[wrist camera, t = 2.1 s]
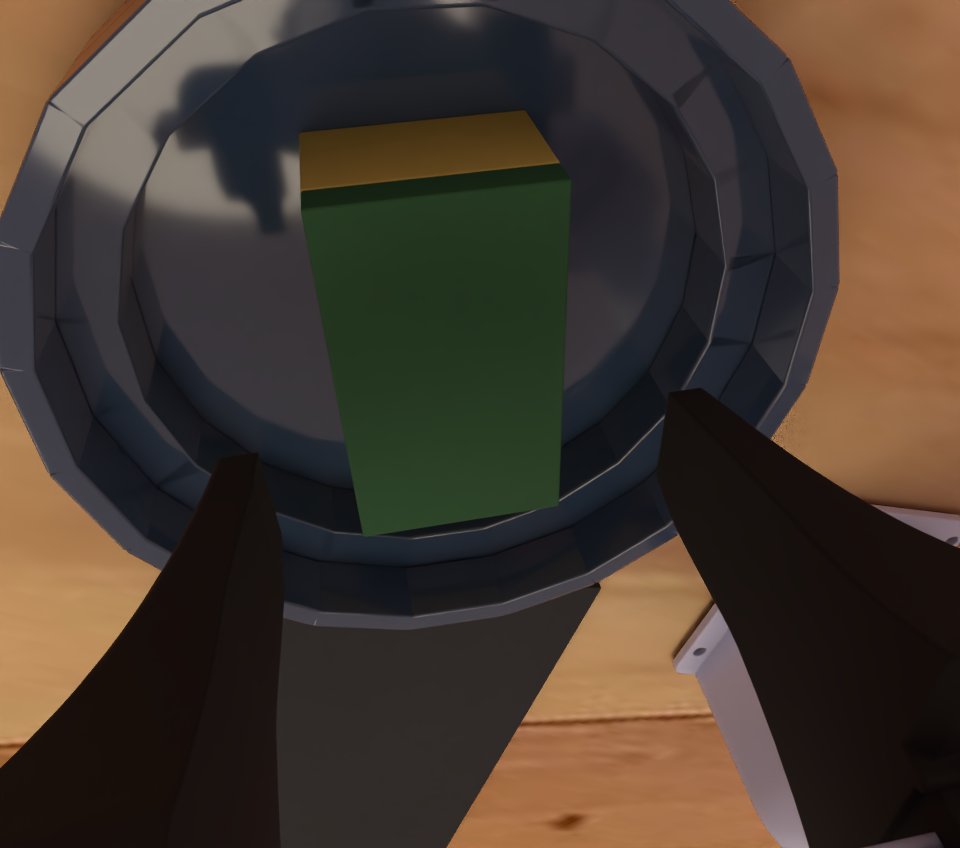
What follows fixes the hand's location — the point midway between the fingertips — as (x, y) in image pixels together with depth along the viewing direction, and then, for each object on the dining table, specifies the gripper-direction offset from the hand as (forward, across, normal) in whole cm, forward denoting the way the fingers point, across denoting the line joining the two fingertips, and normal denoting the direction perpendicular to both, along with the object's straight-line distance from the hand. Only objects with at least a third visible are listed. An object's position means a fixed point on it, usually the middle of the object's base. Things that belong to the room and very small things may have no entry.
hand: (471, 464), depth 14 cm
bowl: (+7, 0, 0) cm, 7 cm away
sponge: (+6, 0, 0) cm, 6 cm away
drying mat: (+7, +5, +20) cm, 21 cm away
